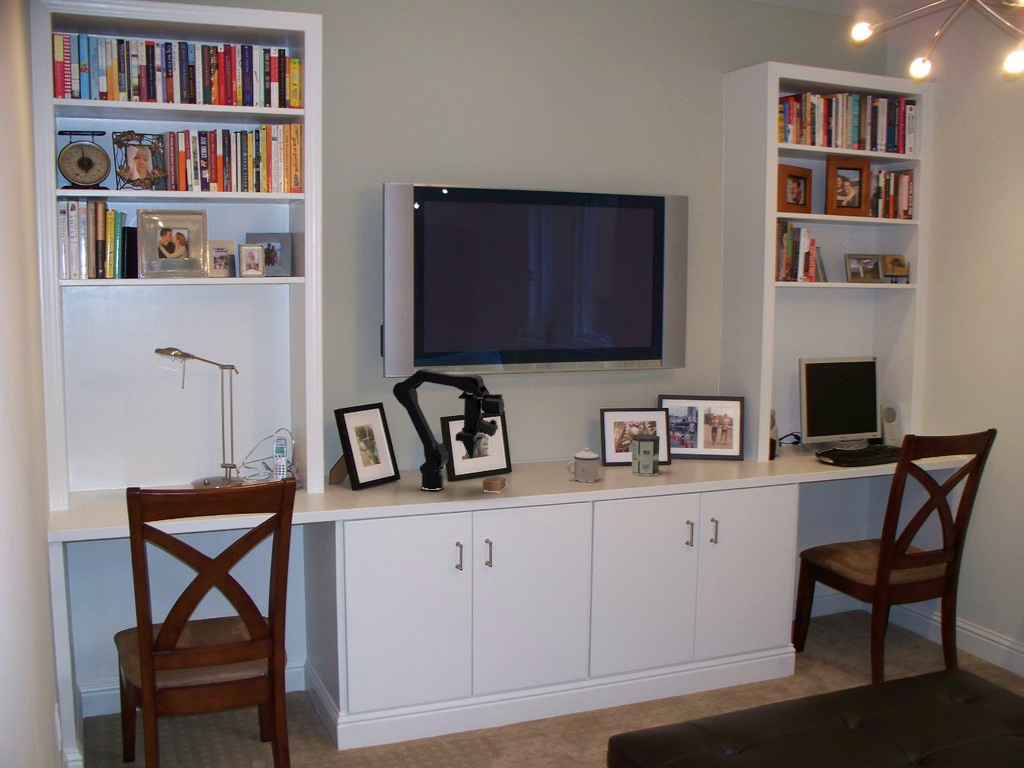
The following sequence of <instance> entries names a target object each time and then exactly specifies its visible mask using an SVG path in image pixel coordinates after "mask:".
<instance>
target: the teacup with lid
mask: <svg viewBox="0 0 1024 768" xmlns="http://www.w3.org/2000/svg"><path fill="white" fill-rule="evenodd" d="M573 455H574V456H573V458H574V460H571V461H569V462H568V463H567V465H566V466H567V467H566V469H567V472H568V473H569V474H570V475H573V478H575V479H577V480H583V481H595V482H597V481H598V480H599V459H600V456H599V454H598V453H595V452H593V451H591V450H590V448H589V447H584V448H583V450H582V451H580V452H578V453H575V454H573ZM572 464H574V466H573V467H574V469H573V470H574V472H573V471H571V468H570V466H571V465H572ZM575 479H574V480H575ZM596 480H597V481H596Z"/></svg>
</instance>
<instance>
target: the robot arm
mask: <svg viewBox="0 0 1024 768" xmlns="http://www.w3.org/2000/svg"><path fill="white" fill-rule="evenodd" d="M424 383H430V384H436V385H441V386H447V387H453V388H456V389H458V390H459V391H461V394H460V395H459V396H458V397H457V399H459V400H464V403H463V404H464V406H463V407H464V408H463V409H464V413H463V415H462V417H461V418H462V420H463V427H462V428H461V430H460V431H459V432H456V434H455V438H454V439H455V441H456V442H462V444H463V446H464V448H465V451H466V454H467V456H468V458H469V459H470V460H472V459H474V457H475V452H476V450H477V446H478V443H479V442H480V441H481V440H482V439H483V438H484V437H483V436H480V434H483V435H487V436H489V437H493V436H495V435H496V433H497V430H498V429H499V425H498V423H497V420H495V419H491V420H490V421H488V420H485V419H484V416H483V414H482V412H483V413H484V414H487V415H499V416H502V415H503V414H504V410H505V403H504V402H505V401H504V398H503V394H502V393H496V394H495V393H494V394H493V393H490V390H488V388H487V387H486V385H485V382H484V379H483V377H482V376H481V375H479V374H461V375H460V374H459V375H458V374H454V373H453V374H452V373H448V372H447V373H446V372H440V371H434V370H429V369H426V368H422V369H418V370H417V371H416V372H414V373H413V374H412V375H411V376H409V377H408V378H406V379H405V380H403V381H399V382H396V383H395V384H394V386H393V389H392V393H393V396H394V397H395V398H396V400H397V401H398V403H399V404H400V405H401V406H402V407H403V408H405V411H406V412H407V414H408V416H409V419H410V421H411V423H412V424H413V427H414V429H415V431H416V433H417V436H418V437H419V439H420V442H421V444H422V446H423V454H424V455H423V456H424V460H425V461H424V462H423V463H422V464H421V465H420V467H419V471H420V473H421V488H422V487H424V488H428V489H436V488H442V487H443V488H444V475H443V471H442V470H443V469H444V466H446V465H447V463H448V462H449V453H450V452H449V451H448V450H447V448H446V445H445V443H444V442H441V443H440V442H439V441H437V439H436V438H435V435H434V433H433V431H432V429H431V427H430V425H429V424H428V421H427V418H426V417H425V415H424V413H423V411H422V409H421V406H420V405H419V396H418V395H419V394H418V392H417V391H418V390H417V389H418V388H419V387H420V386H422V384H424ZM443 488H442V489H443Z"/></svg>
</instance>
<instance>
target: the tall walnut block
mask: <svg viewBox="0 0 1024 768" xmlns="http://www.w3.org/2000/svg"><path fill="white" fill-rule="evenodd" d="M504 487H505V488H506V477H505V476H490V475H489V476H486V478H485V479H483V480H482V491H483V490H486V491H487V490H488V491H501V490H502V489H503V488H504Z"/></svg>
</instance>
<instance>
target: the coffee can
mask: <svg viewBox="0 0 1024 768" xmlns="http://www.w3.org/2000/svg"><path fill="white" fill-rule="evenodd" d="M660 438H661V437H660V436H659V435H656V434H647V433H646V434H645V433H644V434H633V435H632V436H631V439H632V440H631V441H632V442H631V443H632V444H631V450H632V451H631V474H633V475H634V474H635V475H634V476H639V475H642V476H641V477H654V475H655V476H659V471H660V468H659V467H660Z"/></svg>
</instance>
